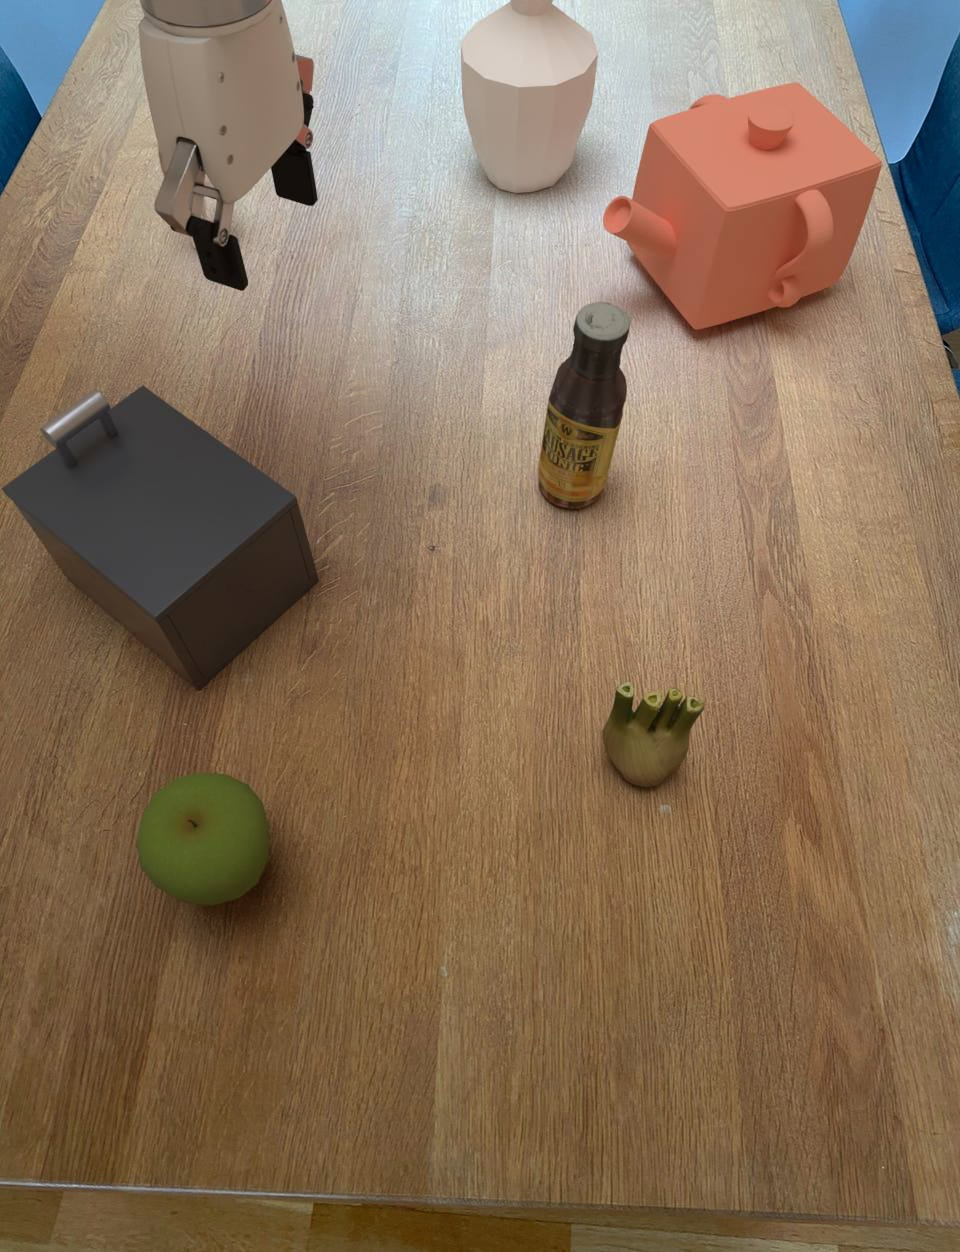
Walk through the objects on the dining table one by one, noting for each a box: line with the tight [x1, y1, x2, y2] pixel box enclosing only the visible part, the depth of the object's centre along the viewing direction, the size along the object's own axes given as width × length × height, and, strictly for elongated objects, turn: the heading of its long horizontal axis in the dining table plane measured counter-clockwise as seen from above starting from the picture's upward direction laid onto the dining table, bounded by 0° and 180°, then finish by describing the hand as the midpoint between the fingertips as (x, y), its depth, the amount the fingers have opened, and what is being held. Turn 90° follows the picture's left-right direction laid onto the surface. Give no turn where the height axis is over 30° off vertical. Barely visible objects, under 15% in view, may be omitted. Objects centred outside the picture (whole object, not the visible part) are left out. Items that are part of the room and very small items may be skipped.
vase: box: [460, 0, 599, 194], centre depth 98 cm, size 14×14×25 cm
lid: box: [1, 385, 299, 622], centre depth 69 cm, size 18×14×5 cm
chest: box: [13, 501, 320, 692], centre depth 76 cm, size 17×14×11 cm
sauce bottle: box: [537, 301, 631, 510], centre depth 77 cm, size 7×6×20 cm
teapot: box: [602, 81, 883, 330], centre depth 92 cm, size 25×23×18 cm
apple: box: [136, 772, 271, 906], centre depth 63 cm, size 9×8×12 cm
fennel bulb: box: [601, 681, 705, 788], centre depth 68 cm, size 6×5×12 cm
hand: (263, 239), depth 66 cm, fingers open, 9 cm apart
